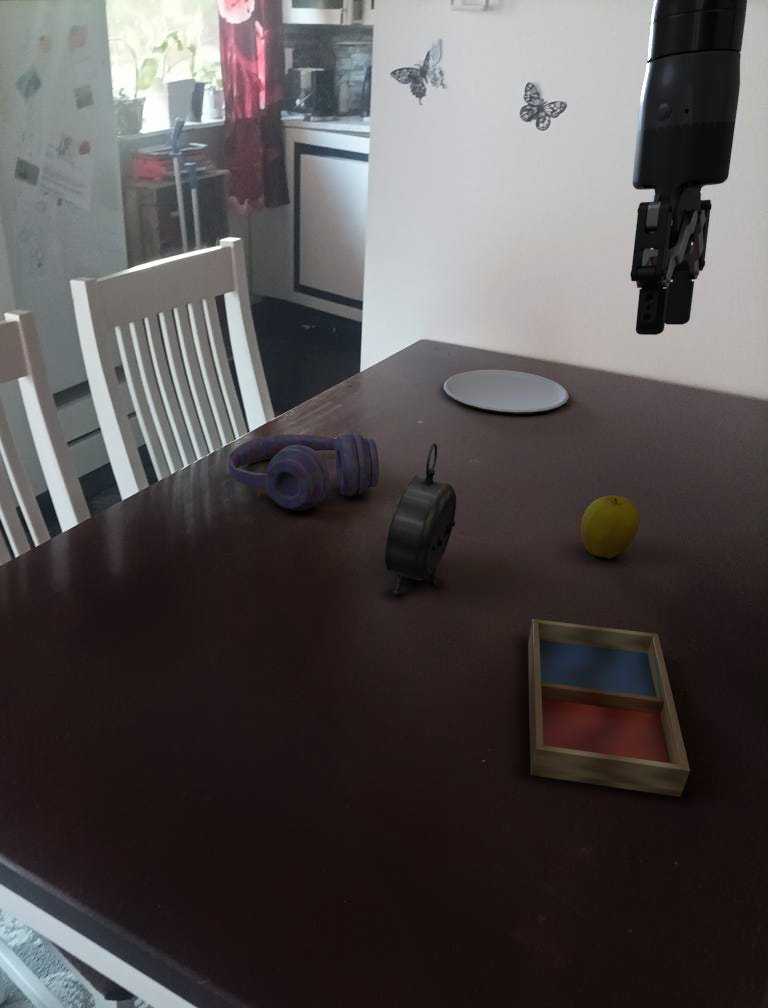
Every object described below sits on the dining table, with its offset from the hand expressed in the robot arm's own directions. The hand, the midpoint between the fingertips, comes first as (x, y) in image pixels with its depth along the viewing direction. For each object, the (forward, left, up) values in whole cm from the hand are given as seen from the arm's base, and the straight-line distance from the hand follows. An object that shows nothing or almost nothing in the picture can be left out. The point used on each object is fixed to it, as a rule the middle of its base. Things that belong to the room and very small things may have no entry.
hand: (663, 329), depth 81 cm
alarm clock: (+19, -1, -30) cm, 35 cm away
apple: (-2, -12, -30) cm, 32 cm away
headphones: (+37, -23, -30) cm, 53 cm away
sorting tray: (+1, +19, -29) cm, 35 cm away
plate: (+10, -66, -30) cm, 73 cm away
